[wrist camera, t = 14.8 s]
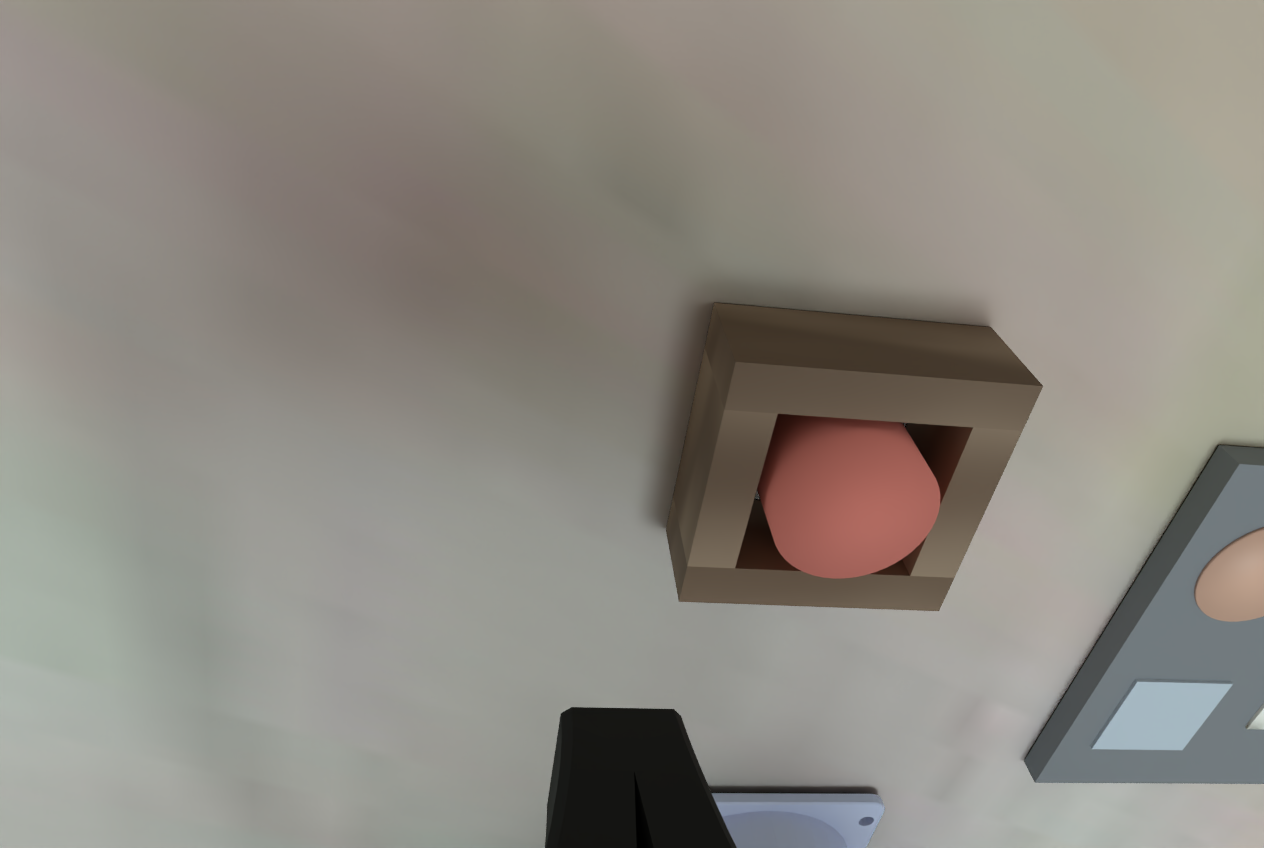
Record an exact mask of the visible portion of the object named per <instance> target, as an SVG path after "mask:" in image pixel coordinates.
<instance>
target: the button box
mask: <svg viewBox="0 0 1264 848" xmlns="http://www.w3.org/2000/svg"><path fill="white" fill-rule="evenodd" d="M1042 387H1043V386H1042V384H1041V383H1040V382H1039V381H1038V380H1037V379H1036V378H1035V377H1034V375H1033V374H1032V373H1031V372H1030V371H1029V370H1028V369H1027V367H1026V366H1025V365H1024V364H1023V363H1022V362H1021V361H1020V360H1019V358H1018V357H1017V356H1016V355H1015V354H1014V353H1013V352H1012V350H1011V349H1010V348H1009V347H1008V346H1007V345H1006V344H1005V342H1004V341H1003V340H1002V339H1001V338H1000V337H999V336H998V335H997V333H996V332H995V331H994V330H993V329H992V328H991V327H981V326H970V325H959V324H948V323H937V322H925V321H914V320H903V319H892V318H881V317H869V316H858V315H847V314H836V313H824V312H813V311H802V310H791V309H780V308H768V307H757V306H746V305H735V304H723V303H714V306H713V310H712V315H711V320H710V325H709V329H708V334H707V339H706V343H705V348H704V353H703V358H702V362H701V367H700V372H699V377H698V381H697V386H696V391H695V395H694V400H693V405H692V410H691V414H690V419H689V424H688V428H687V433H686V438H685V443H684V447H683V452H682V457H681V461H680V466H679V471H678V476H677V480H676V485H675V490H674V494H673V499H672V504H671V509H670V513H669V518H668V523H667V527H666V532H667V538H668V543H669V549H670V554H671V560H672V565H673V571H674V577H675V582H676V588H677V593H678V599H679V602H706V603H733V604H760V605H787V606H814V607H842V608H869V609H896V610H923V611H939V610H940V607H941V605H942V603H943V601H944V599H945V597H946V595H947V592H948V590H949V588H950V586H951V584H952V582H953V579H954V577H955V575H956V573H957V571H958V569H959V566H960V564H961V562H962V560H963V558H964V556H965V554H966V551H967V549H968V547H969V545H970V543H971V541H972V538H973V536H974V534H975V532H976V530H977V528H978V525H979V523H980V521H981V519H982V517H983V515H984V513H985V510H986V508H987V506H988V504H989V502H990V500H991V497H992V495H993V493H994V491H995V489H996V487H997V484H998V482H999V480H1000V478H1001V476H1002V474H1003V472H1004V469H1005V467H1006V465H1007V463H1008V461H1009V459H1010V456H1011V454H1012V452H1013V450H1014V448H1015V446H1016V443H1017V441H1018V439H1019V437H1020V435H1021V433H1022V431H1023V428H1024V426H1025V424H1026V422H1027V420H1028V418H1029V415H1030V413H1031V411H1032V409H1033V407H1034V405H1035V402H1036V400H1037V398H1038V396H1039V394H1040V392H1041V390H1042ZM778 414H790V415H804V416H818V417H832V418H846V419H861V420H875V421H889V422H903V423H908V424H907V427H906V430H907V431H908V433H909V435H910V436H911V438H912V440H913V441H914V443H915V445H916V446H917V448H918V450H919V451H920V453H921V455H922V456H923V458H924V460H925V461H926V463H927V465H928V466H929V468H930V470H931V471H932V473H933V475H934V476H935V478H936V480H937V483H938V486H939V490H940V508H939V513H938V516H937V519H936V521H935V523H934V525H933V527H932V529H931V530H930V532H929V533H928V535H927V536H926V538H925V539H924V540H923V541H922V542H921V543H920V545H919V546H917V547H916V548H915V549H914V550H913V551H912V552H911V553H909V554H908V555H907V556H906V557H904V558H903V559H901V560H899V561H898V562H896V563H895V564H893V565H891V566H889V567H887V568H885V569H882V570H880V571H877V572H874V573H871V574H867V575H864V576H859V577H853V578H841V579H833V578H823V577H818V576H814V575H811V574H808V573H805V572H803V571H801V570H799V569H797V568H795V567H794V566H792V565H791V564H790V563H788V562H787V561H786V560H785V559H784V558H783V556H782V555H781V554H780V553H779V551H778V549H777V547H776V545H775V542H774V539H773V536H772V533H771V530H770V527H769V524H768V521H767V518H766V515H765V512H764V509H763V506H762V503H761V501H757V500H754V498H755V494H756V491H757V487H758V484H759V480H760V476H761V473H762V469H763V466H764V462H765V458H766V455H767V451H768V447H769V444H770V440H771V437H772V433H773V429H774V426H775V422H776V419H777V415H778Z"/></svg>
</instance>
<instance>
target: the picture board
mask: <svg viewBox="0 0 1264 848" xmlns="http://www.w3.org/2000/svg"><path fill="white" fill-rule="evenodd" d="M1024 762H1025V764H1026V766H1027V768H1028V770H1029V772H1030V774H1031V776H1032V778H1033V780H1034V782H1035V783H1209V784H1264V448H1253V447H1239V446H1225V445H1219V446H1218V448H1217V449H1216V451H1215V453H1214V454H1213V456H1212V457H1211V459H1210V461H1209V462H1208V464H1207V466H1206V467H1205V469H1204V470H1203V472H1202V474H1201V475H1200V477H1199V479H1198V480H1197V482H1196V483H1195V485H1194V487H1193V488H1192V490H1191V491H1190V493H1189V495H1188V496H1187V498H1186V500H1185V501H1184V503H1183V504H1182V506H1181V508H1180V509H1179V511H1178V513H1177V514H1176V516H1175V517H1174V519H1173V521H1172V522H1171V524H1170V525H1169V527H1168V529H1167V530H1166V532H1165V534H1164V535H1163V537H1162V538H1161V540H1160V542H1159V543H1158V545H1157V547H1156V548H1155V550H1154V551H1153V553H1152V555H1151V556H1150V558H1149V559H1148V561H1147V563H1146V564H1145V566H1144V568H1143V569H1142V571H1141V572H1140V574H1139V576H1138V577H1137V579H1136V581H1135V582H1134V584H1133V585H1132V587H1131V589H1130V590H1129V592H1128V593H1127V595H1126V597H1125V598H1124V600H1123V602H1122V603H1121V605H1120V606H1119V608H1118V610H1117V611H1116V613H1115V615H1114V616H1113V618H1112V619H1111V621H1110V623H1109V624H1108V626H1107V627H1106V629H1105V631H1104V632H1103V634H1102V636H1101V637H1100V639H1099V640H1098V642H1097V644H1096V645H1095V647H1094V649H1093V650H1092V652H1091V653H1090V655H1089V657H1088V658H1087V660H1086V661H1085V663H1084V665H1083V666H1082V668H1081V670H1080V671H1079V673H1078V674H1077V676H1076V678H1075V679H1074V681H1073V683H1072V684H1071V686H1070V687H1069V689H1068V691H1067V692H1066V694H1065V695H1064V697H1063V699H1062V700H1061V702H1060V704H1059V705H1058V707H1057V708H1056V710H1055V712H1054V713H1053V715H1052V717H1051V718H1050V720H1049V721H1048V723H1047V725H1046V726H1045V728H1044V729H1043V731H1042V733H1041V734H1040V736H1039V738H1038V739H1037V741H1036V742H1035V744H1034V746H1033V747H1032V749H1031V751H1030V752H1029V754H1028V755H1027V757H1026V759H1025V760H1024Z"/></svg>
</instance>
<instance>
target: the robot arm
mask: <svg viewBox="0 0 1264 848" xmlns="http://www.w3.org/2000/svg"><path fill="white" fill-rule="evenodd" d="M884 810H885V807H884V804H883V801H882V799H881V797H880V796H878V795H876V794H811V793H711V791H710V789H709V787H708V784H707V782H706V780H705V777H704V775H703V773H702V770H701V768H700V765H699V763H698V760H697V758H696V755H695V753H694V750H693V748H692V745H691V743H690V740H689V737H688V735H687V732H686V729H685V727H684V724H683V721H682V718H681V716H680V715H679V714H678V713H677V712H676V711H675V710H674V709H636V708H581V707H571V708H570V709H568V710H566V711H564V712H563V713H561V716H560V723H559V730H558V736H557V743H556V750H555V757H554V763H553V770H552V777H551V783H550V790H549V797H548V804H547V827H546V842H545V848H866V847H867V845H868V843H869V841H870V839H871V837H872V835H873V833H874V831H875V829H876V827H877V825H878V823H879V821H880V819H881V817H882V815H883V813H884Z"/></svg>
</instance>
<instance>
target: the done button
mask: <svg viewBox="0 0 1264 848" xmlns="http://www.w3.org/2000/svg"><path fill="white" fill-rule="evenodd" d="M757 490H758V493H759V496H760V500H761V503H762V506H763V509H764V512H765V515H766V518H767V521H768V524H769V527H770V530H771V533H772V536H773V539H774V542H775V545H776V547H777V549H778V551H779V553H780V554H781V555H782V556H783V558H784V559H785V560H786V561H787V562H788V563H790V564H791V565H792V566H794V567H795V568H797V569H799V570H801V571H803V572H805V573H808V574H811V575H814V576H818V577H823V578H833V579H841V578H853V577H859V576H864V575H867V574H871V573H874V572H877V571H880V570H882V569H885V568H887V567H889V566H891V565H893V564H895V563H896V562H898V561H899V560H901V559H903V558H904V557H906V556H907V555H908V554H909V553H911V552H912V551H913V550H914V549H915V548H916V547H917V546H919V545H920V543H921V542H922V541H923V540H924V539H925V538H926V536H927V535H928V533H929V532H930V530H931V529H932V527H933V525H934V523H935V521H936V519H937V516H938V513H939V508H940V490H939V486H938V483H937V480H936V478H935V476H934V475H933V473H932V471H931V470H930V468H929V466H928V465H927V463H926V461H925V460H924V458H923V456H922V455H921V453H920V451H919V450H918V448H917V446H916V445H915V443H914V441H913V440H912V438H911V436H910V435H909V433H908V431H907V430H906V428H905V426H904V425H903V423H902V422H889V421H875V420H861V419H846V418H832V417H818V416H804V415H790V414H778V415H777V419H776V422H775V426H774V429H773V433H772V437H771V440H770V444H769V447H768V451H767V455H766V458H765V462H764V466H763V469H762V473H761V476H760V480H759V484H758V487H757Z"/></svg>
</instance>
